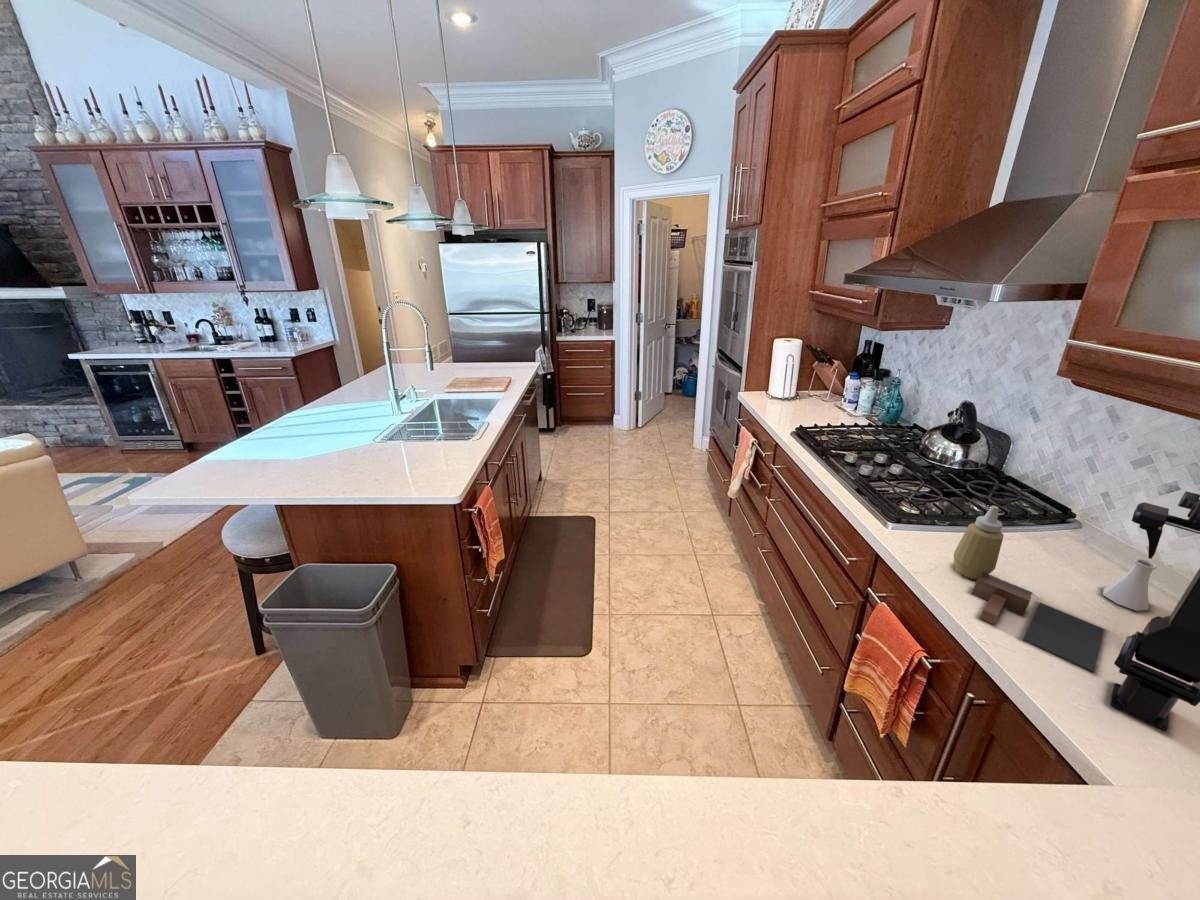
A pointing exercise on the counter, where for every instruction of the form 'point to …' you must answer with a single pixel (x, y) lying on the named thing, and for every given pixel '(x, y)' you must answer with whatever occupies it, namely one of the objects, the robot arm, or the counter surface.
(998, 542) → the squeeze bottle
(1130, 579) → the flask
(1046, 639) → the mat
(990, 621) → the brush
